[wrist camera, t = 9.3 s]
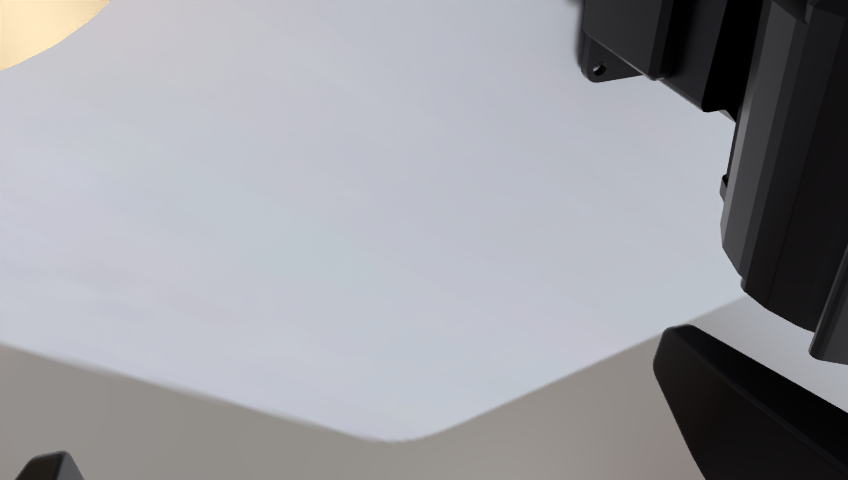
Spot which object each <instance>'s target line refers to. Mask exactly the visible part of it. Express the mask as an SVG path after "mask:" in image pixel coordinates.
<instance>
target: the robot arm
mask: <svg viewBox="0 0 848 480" xmlns="http://www.w3.org/2000/svg"><path fill="white" fill-rule="evenodd" d="M583 30H584V32H585V39H584V47H583V55H582V63H581V72H582V74H583V75H584V76H585V77H586V78H587V79H588V80H590V81H592V82H596V83H599V82H605V81H610V80H616V79H622V78H628V77H634V76H640V75H644V76H646V77H647V78H649V79H650V80H653V81H656V80H659V81H660V82H662V83H663V84H665V85H666V86H667V87H669V88H670V89H672V90H673V91H675V92H676V93H677V94H679V95H680V96H682V97H683V98H685V99H686V100H687V101H689V102H690V103H692V104H693V105H695V106H696V107H697V108H699V109H700V110H702V111H703V112H713V111H719V112H720V113H722V114H723V115H725V116H726V117H728V118H729V119H731V120H732V121H734V122H735V123H736V126H735V131H734V136H733V142H732V147H731V152H730V158H729V163H728V168H727V174H725V175H723V177H722V181H721V186H720V195H721V197H722V199H723V201H724V207H723V212H722V218H721V223H720V225H721V237H722V248H723V249H724V251H725V253H726V254H727V256H728V257H729V259H730V261H731V262H732V264H733V266H734V267H735V269H736V271H737V272H738V274H739V275H740V276H741V277H742V279H741V288H742V289H743V291H744V292H746V293H747V294H748V295H749V296H751V297H752V298H753V299H754V300H756V301H757V302H758V303H759V304H761V305H762V306H763V307H764V308H766V309H767V310H769V311H771V312H773V313H775V314H776V315H778V316H780V317H782V318H784V319H786V320H788V321H789V322H791V323H793V324H795V325H797V326H799V327H801V328H803V329H806V330H809V331H812V332H814V333H815V334H814V337H813V339H812V342H811V345H810V347H809V350H808V351H809V354H810V355H811V356H812V357H814V358H815V359H817V360H822V361H828V362H833V363H839V364H845V365H848V0H586V1H585V10H584V18H583ZM599 62H601V65H600V67H599V68H598V69H597V70H596V71H593V69H594V66H595V65H596V64H597V63H599ZM653 370H654V374H655V376H656V379H657V381H658V383H659V386H660V388H661V390H662V392H663V394H664V396H665V399H666V401H667V403H668V405H669V407H670V410H671V412H672V414H673V416H674V418H675V420H676V423H677V425H678V427H679V429H680V431H681V434H682V436H683V438H684V440H685V442H686V444H687V446H688V448H689V450H690V453H691V455H692V457H693V458H694V460H695V462H696V464H697V466H698V467H699V469H700V471H701V473H702V474H703V476H704V477H705V479H706V480H848V413H847V412H845V411H843V410H841V409H840V408H838V407H836V406H834V405H833V404H831V403H829V402H827V401H826V400H824V399H822V398H820V397H819V396H817V395H815V394H813V393H812V392H810V391H808V390H806V389H804V388H803V387H801V386H799V385H798V384H796V383H794V382H792V381H791V380H789V379H787V378H785V377H784V376H782V375H780V374H778V373H776V372H775V371H773V370H771V369H769V368H767V367H766V366H764V365H762V364H760V363H759V362H757V361H755V360H753V359H752V358H750V357H748V356H746V355H745V354H743V353H741V352H739V351H738V350H736V349H734V348H732V347H731V346H729V345H727V344H725V343H724V342H722V341H720V340H718V339H717V338H715V337H713V336H711V335H709V334H708V333H706V332H704V331H702V330H701V329H699V328H697V327H695V326H693V325H690V324H683V325H678V326H673V327H669V328H667V329H666V330H664V332H663V334H662V336H661V340H660V342H659V345H658V348H657V351H656V354H655V356H654V359H653ZM15 480H84V478H83V476H82V474H81V473H80V471H79V469H78V467H77V465H76V463H75V462H74V460H73V458H72V456H71V455H70V454H69V453H68V452H66V451H57V452H52V453H48V454H42V455H38V456H35V457H34V458H32V459H31V460H30V461H28V463H27V464H26V465H25V467H24V468H23V470H22V471H21V472H20V473H19V475H18V476H17V477H16V479H15Z"/></svg>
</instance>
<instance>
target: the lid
mask: <svg viewBox="0 0 848 480" xmlns="http://www.w3.org/2000/svg"><path fill="white" fill-rule="evenodd" d="M109 1H110V0H0V70H3V69H6V68H9V67H12V66H14V65H16V64H18V63H20V62H22V61H24V60H26V59H28V58H30V57H32V56H34V55H36V54H38V53H40V52H42V51H44V50H46V49H48V48H50V47H52V46H54V45H56V44H57V43H58V42H60V41H61V40H63V39H64V38H65V37H67V36H68V35H70V34H71V33H72V32H74V31H75V30H77V29H78V28H80V27H81V26H82V25H84V24H85V23H87V22H88V21H89V20H91V19H92V18H93V17H94V16H95V15H96V14H97V13H98V12H99V11H100V10H101V9H102V8H103V7H104V6H105V5H106V4H107V3H108V2H109Z"/></svg>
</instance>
